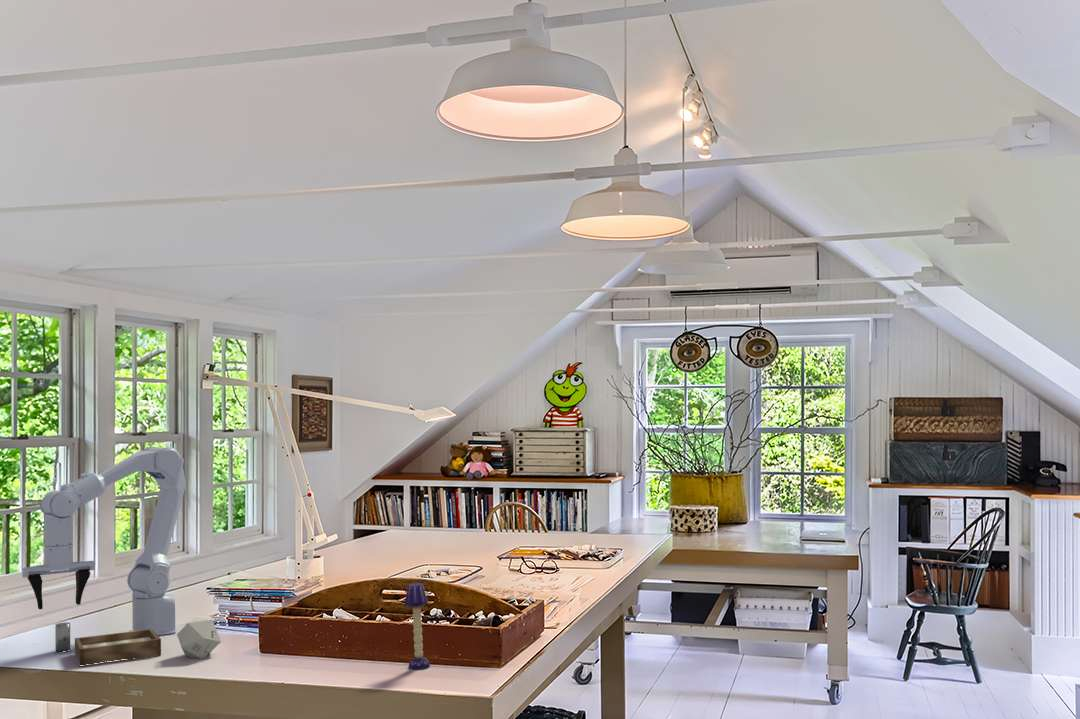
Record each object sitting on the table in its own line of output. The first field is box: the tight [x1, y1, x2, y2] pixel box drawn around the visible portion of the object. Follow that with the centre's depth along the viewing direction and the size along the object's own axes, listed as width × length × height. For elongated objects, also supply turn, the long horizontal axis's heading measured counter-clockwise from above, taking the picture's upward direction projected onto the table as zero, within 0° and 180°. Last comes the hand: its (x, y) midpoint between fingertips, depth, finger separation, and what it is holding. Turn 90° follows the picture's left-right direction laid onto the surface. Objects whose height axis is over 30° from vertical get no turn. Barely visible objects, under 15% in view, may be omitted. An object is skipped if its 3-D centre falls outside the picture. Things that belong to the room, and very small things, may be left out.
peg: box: [54, 621, 71, 653], centre depth 225 cm, size 3×3×6 cm
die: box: [176, 617, 222, 659], centre depth 218 cm, size 8×9×10 cm
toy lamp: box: [404, 582, 431, 670], centre depth 206 cm, size 5×5×17 cm
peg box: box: [74, 629, 162, 666], centre depth 220 cm, size 16×12×4 cm
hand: (59, 606), depth 226 cm, fingers open, 7 cm apart
